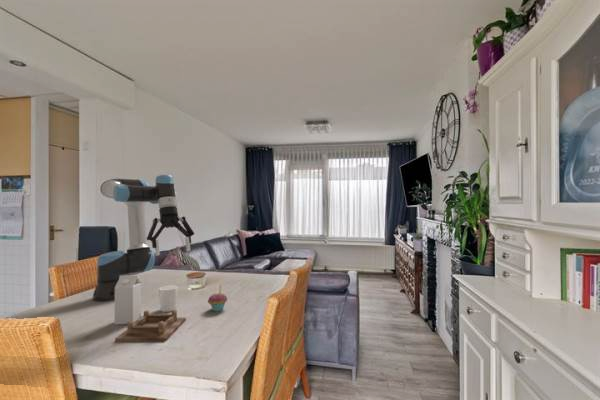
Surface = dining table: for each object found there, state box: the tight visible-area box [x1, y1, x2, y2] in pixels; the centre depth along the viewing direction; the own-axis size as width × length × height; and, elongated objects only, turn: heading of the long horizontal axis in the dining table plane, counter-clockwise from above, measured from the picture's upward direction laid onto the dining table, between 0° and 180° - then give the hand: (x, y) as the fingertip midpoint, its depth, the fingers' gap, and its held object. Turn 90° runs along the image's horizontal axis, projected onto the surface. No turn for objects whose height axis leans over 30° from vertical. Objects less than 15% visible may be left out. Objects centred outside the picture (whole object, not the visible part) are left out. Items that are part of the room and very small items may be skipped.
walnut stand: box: [114, 309, 187, 343], centre depth 109 cm, size 18×18×5 cm
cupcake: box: [207, 284, 228, 312], centre depth 131 cm, size 9×8×12 cm
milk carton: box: [114, 274, 142, 326], centre depth 118 cm, size 7×7×19 cm
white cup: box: [158, 284, 179, 313], centre depth 131 cm, size 8×8×10 cm
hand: (173, 253), depth 126 cm, fingers open, 13 cm apart
